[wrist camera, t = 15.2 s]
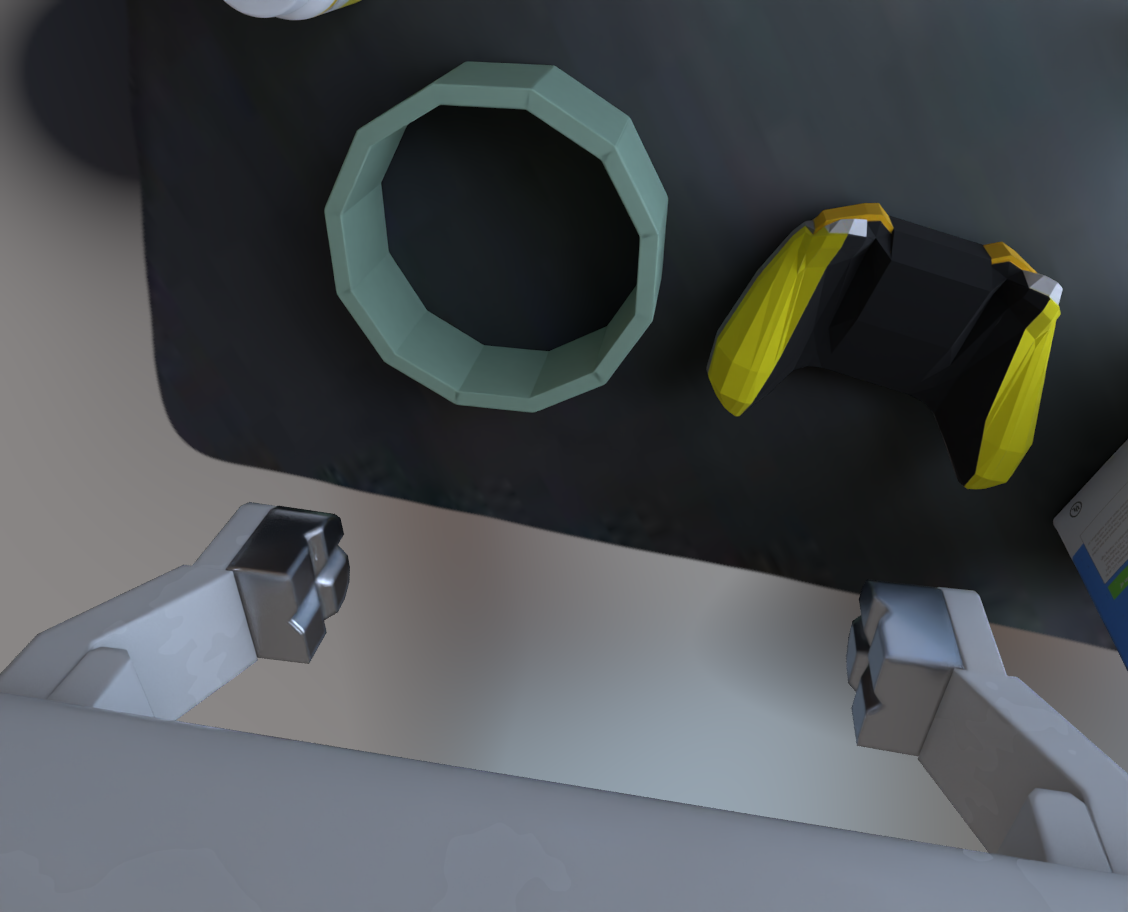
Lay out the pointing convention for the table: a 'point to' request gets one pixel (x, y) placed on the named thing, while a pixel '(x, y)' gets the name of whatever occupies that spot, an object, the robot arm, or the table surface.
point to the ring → (433, 343)
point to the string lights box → (1102, 543)
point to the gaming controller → (900, 329)
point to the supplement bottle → (287, 7)
